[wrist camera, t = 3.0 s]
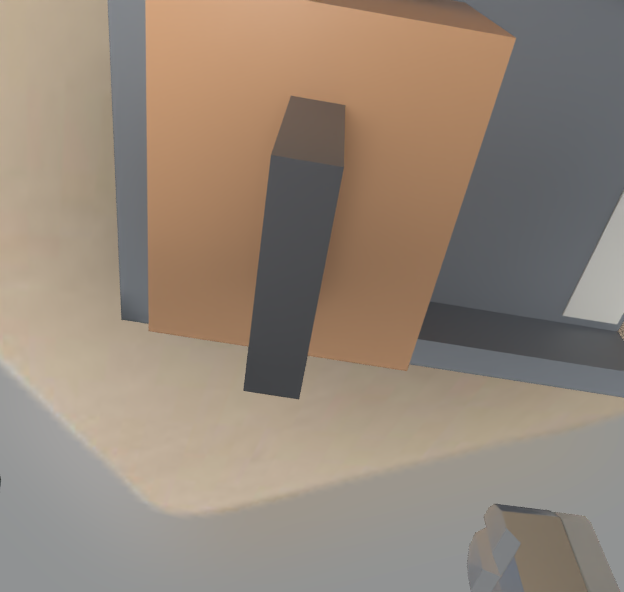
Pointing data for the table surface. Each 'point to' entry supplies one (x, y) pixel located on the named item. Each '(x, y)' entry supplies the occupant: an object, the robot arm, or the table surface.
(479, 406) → the table surface
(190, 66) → the tan block with handle
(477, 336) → the bay
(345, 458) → the table surface
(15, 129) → the table surface
